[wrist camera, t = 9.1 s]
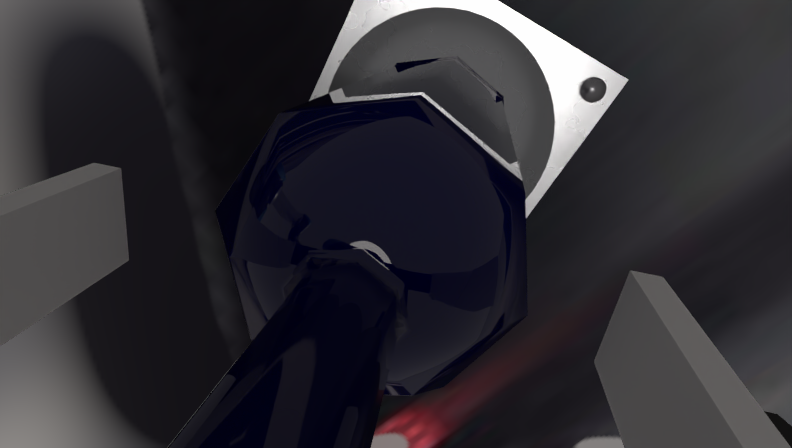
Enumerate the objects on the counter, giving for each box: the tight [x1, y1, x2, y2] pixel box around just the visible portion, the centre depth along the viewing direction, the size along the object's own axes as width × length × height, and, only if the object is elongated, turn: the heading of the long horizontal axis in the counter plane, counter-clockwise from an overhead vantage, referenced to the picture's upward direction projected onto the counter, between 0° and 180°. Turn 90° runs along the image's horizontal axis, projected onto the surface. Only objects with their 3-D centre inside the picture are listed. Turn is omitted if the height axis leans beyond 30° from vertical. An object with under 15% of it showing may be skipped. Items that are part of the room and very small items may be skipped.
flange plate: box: [309, 0, 628, 218], centre depth 30 cm, size 16×16×2 cm
